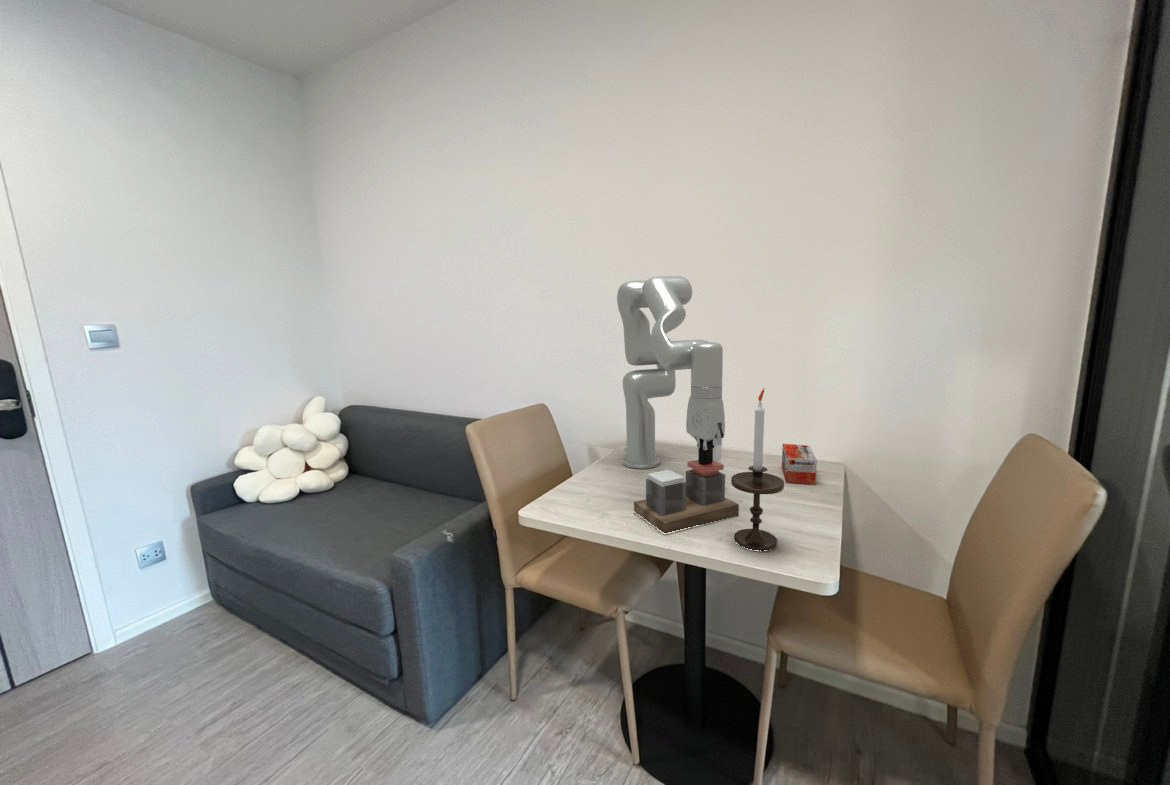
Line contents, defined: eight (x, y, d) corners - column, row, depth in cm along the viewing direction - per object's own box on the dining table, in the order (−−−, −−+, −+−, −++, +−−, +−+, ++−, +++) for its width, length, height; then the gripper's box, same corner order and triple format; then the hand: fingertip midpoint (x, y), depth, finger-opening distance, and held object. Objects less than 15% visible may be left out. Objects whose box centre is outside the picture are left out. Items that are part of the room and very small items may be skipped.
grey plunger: (647, 505, 122) (647, 473, 120) (669, 500, 124) (669, 469, 123) (662, 514, 116) (661, 482, 115) (684, 509, 119) (684, 477, 117)
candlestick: (788, 539, 109) (796, 385, 102) (770, 559, 101) (776, 393, 94) (742, 526, 116) (746, 381, 109) (721, 543, 108) (724, 388, 102)
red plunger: (687, 491, 126) (687, 461, 125) (706, 487, 129) (707, 457, 128) (702, 500, 121) (703, 469, 119) (723, 495, 123) (723, 464, 122)
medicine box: (816, 486, 139) (817, 459, 138) (785, 483, 142) (786, 457, 140) (808, 468, 154) (809, 444, 152) (780, 467, 156) (781, 443, 154)
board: (634, 512, 125) (633, 475, 123) (703, 496, 134) (703, 461, 132) (664, 535, 112) (664, 494, 111) (738, 515, 121) (739, 477, 120)
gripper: (676, 389, 125) (676, 458, 128) (714, 399, 112) (712, 474, 115) (699, 387, 128) (699, 453, 132) (739, 395, 115) (737, 469, 118)
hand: (705, 463), depth 123 cm, fingers closed
